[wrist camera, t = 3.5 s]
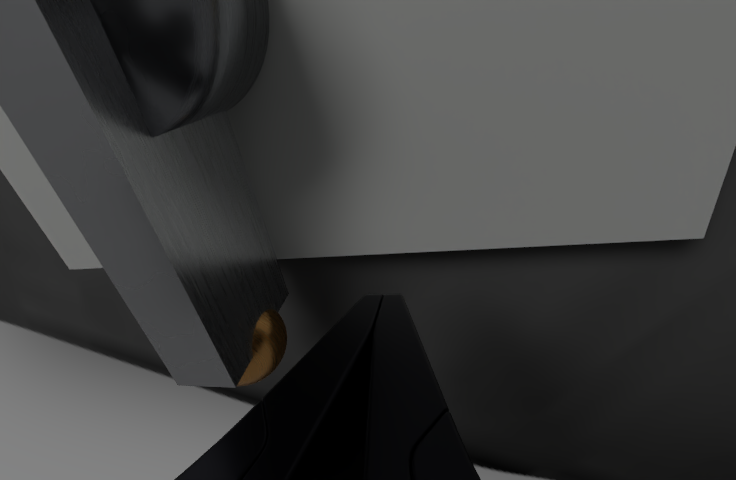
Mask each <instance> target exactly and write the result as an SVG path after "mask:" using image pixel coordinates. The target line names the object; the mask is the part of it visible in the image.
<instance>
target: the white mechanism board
mask: <svg viewBox="0 0 736 480" xmlns="http://www.w3.org/2000/svg"><path fill="white" fill-rule="evenodd" d="M268 6H269V37H268V45H267V51H266V55H265V59H264V63H263V66H262V68H261V71H260V73H259V76H258V78H257V79H256V81H255V83H254V85H253V87H252V88H251V89H250V91H249V92H248V93H247V95H246V96H245V97H244V98H243V99H242V100H241V101H240V102H239V103H238V104H237V105H235V106H234V107H232V108H231V109H229V110H228V111H227V114H228V117H229V119H230V122H231V125H232V128H233V131H234V134H235V137H236V140H237V143H238V146H239V149H240V152H241V155H242V158H243V161H244V163H245V166H246V169H247V172H248V175H249V178H250V181H251V184H252V187H253V190H254V193H255V196H256V199H257V202H258V204H259V207H260V210H261V213H262V216H263V219H264V222H265V225H266V228H267V231H268V234H269V237H270V240H271V243H272V246H273V248H274V251H275V254H276V257H277V259H292V258H312V257H333V256H353V255H374V254H394V253H415V252H435V251H455V250H476V249H496V248H517V247H537V246H557V245H578V244H598V243H619V242H639V241H660V240H680V239H700V238H704V236H705V233H706V230H707V227H708V224H709V221H710V218H711V215H712V213H713V210H714V207H715V204H716V201H717V198H718V195H719V192H720V189H721V186H722V184H723V181H724V178H725V175H726V172H727V169H728V166H729V163H730V160H731V158H732V155H733V152H734V149H735V146H736V0H268ZM0 170H1V171H2V172H3V174H4V175H5V177H6V178H7V180H8V181H9V183H10V184H11V185H12V187H13V188H14V190H15V191H16V193H17V194H18V196H19V197H20V198H21V200H22V201H23V203H24V204H25V206H26V207H27V209H28V210H29V211H30V213H31V214H32V216H33V217H34V219H35V220H36V222H37V223H38V224H39V226H40V227H41V229H42V230H43V232H44V233H45V234H46V236H47V237H48V239H49V240H50V242H51V243H52V245H53V246H54V247H55V249H56V250H57V252H58V253H59V255H60V256H61V258H62V259H63V260H64V262H65V263H66V265H67V266H68V268H69V269H88V268H103V267H102V265H101V263H100V262H99V260H98V259H97V257H96V255H95V254H94V252H93V251H92V249H91V248H90V246H89V244H88V243H87V241H86V240H85V238H84V237H83V235H82V233H81V232H80V230H79V229H78V227H77V226H76V224H75V222H74V221H73V219H72V218H71V216H70V215H69V213H68V211H67V210H66V208H65V207H64V205H63V204H62V202H61V200H60V199H59V197H58V196H57V194H56V193H55V191H54V189H53V188H52V186H51V185H50V183H49V181H48V180H47V178H46V177H45V175H44V174H43V172H42V170H41V169H40V167H39V166H38V164H37V163H36V161H35V159H34V158H33V156H32V155H31V153H30V152H29V150H28V148H27V147H26V145H25V144H24V142H23V141H22V139H21V137H20V136H19V134H18V133H17V131H16V130H15V128H14V126H13V125H12V123H11V122H10V120H9V118H8V117H7V115H6V114H5V112H4V111H3V109H2V107H1V106H0Z"/></svg>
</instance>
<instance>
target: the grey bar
mask: <svg viewBox="0 0 736 480" xmlns="http://www.w3.org/2000/svg"><path fill="white" fill-rule="evenodd" d="M268 37H269V6H268V0H0V106H1V107H2V109H3V111H4V112H5V114H6V115H7V117H8V118H9V120H10V122H11V123H12V125H13V126H14V128H15V130H16V131H17V133H18V134H19V136H20V137H21V139H22V141H23V142H24V144H25V145H26V147H27V148H28V150H29V152H30V153H31V155H32V156H33V158H34V159H35V161H36V163H37V164H38V166H39V167H40V169H41V170H42V172H43V174H44V175H45V177H46V178H47V180H48V181H49V183H50V185H51V186H52V188H53V189H54V191H55V193H56V194H57V196H58V197H59V199H60V200H61V202H62V204H63V205H64V207H65V208H66V210H67V211H68V213H69V215H70V216H71V218H72V219H73V221H74V222H75V224H76V226H77V227H78V229H79V230H80V232H81V233H82V235H83V237H84V238H85V240H86V241H87V243H88V244H89V246H90V248H91V249H92V251H93V252H94V254H95V255H96V257H97V259H98V260H99V262H100V263H101V265H102V267H103V268H104V270H105V271H106V273H107V274H108V276H109V278H110V279H111V281H112V282H113V284H114V285H115V287H116V289H117V290H118V292H119V293H120V295H121V296H122V298H123V300H124V301H125V303H126V304H127V306H128V307H129V309H130V311H131V312H132V314H133V315H134V317H135V318H136V320H137V322H138V323H139V325H140V326H141V328H142V330H143V331H144V333H145V334H146V336H147V337H148V339H149V341H150V342H151V344H152V345H153V347H154V348H155V350H156V352H157V353H158V355H159V356H160V358H161V359H162V361H163V363H164V364H165V366H166V367H167V369H168V370H169V372H170V374H171V375H172V377H173V378H174V380H175V381H176V383H177V385H186V386H209V387H233V388H236V386H247V385H251V384H254V383H257V382H259V381H261V380H263V379H264V378H266V377H267V376H268V375H270V374H271V373H272V372H273V371H274V370H275V369H276V367H277V366H278V365H279V363H280V362H281V360H282V358H283V356H284V353H285V350H286V345H287V332H286V327H285V324H284V322H283V319H282V318H281V316H280V315H279V313H278V312H279V310H280V308H281V307H282V305H283V303H284V301H285V299H286V298H287V296H288V294H289V292H288V289H287V287H286V284H285V281H284V278H283V275H282V272H281V269H280V266H279V263H278V260H277V257H276V254H275V251H274V248H273V246H272V243H271V240H270V237H269V234H268V231H267V228H266V225H265V222H264V219H263V216H262V213H261V210H260V207H259V204H258V202H257V199H256V196H255V193H254V190H253V187H252V184H251V181H250V178H249V175H248V172H247V169H246V166H245V163H244V161H243V158H242V155H241V152H240V149H239V146H238V143H237V140H236V137H235V134H234V131H233V128H232V125H231V122H230V119H229V117H228V114H227V111H228V110H229V109H231V108H232V107H234V106H235V105H237V104H238V103H239V102H240V101H241V100H242V99H243V98H244V97H245V96H246V95H247V93H248V92H249V91H250V89H251V88H252V87H253V85H254V83H255V81H256V79H257V78H258V76H259V73H260V71H261V68H262V66H263V63H264V59H265V55H266V51H267V45H268Z"/></svg>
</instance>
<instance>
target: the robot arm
mask: <svg viewBox="0 0 736 480" xmlns="http://www.w3.org/2000/svg"><path fill="white" fill-rule="evenodd" d="M175 480H480V477H479V475H478V474H477V472H476V470H475V468H474V466H473V464H472V462H471V460H470V458H469V455H468V453H467V451H466V449H465V446H464V444H463V442H462V440H461V437H460V435H459V433H458V431H457V428H456V426H455V423H454V421H453V418H452V416H451V414H450V412H449V409H448V406H447V404H446V402H445V399H444V397H443V394H442V392H441V389H440V387H439V384H438V382H437V379H436V377H435V374H434V372H433V369H432V367H431V365H430V362H429V360H428V357H427V355H426V352H425V350H424V347H423V345H422V342H421V340H420V337H419V335H418V332H417V330H416V328H415V325H414V323H413V320H412V318H411V315H410V313H409V310H408V308H407V305H406V303H405V300H404V298H403V296H402V294H385V295H384V296H383V295H382V294H366V295H364V296H363V297H362V298H361V299H360V300H359V301H358V302H357V303H356V304H355V305H354V306H353V307H352V308H351V309H350V310H349V311H348V312H347V313H346V314H345V315H344V316H343V317H342V318H341V319H340V320H339V321H338V322H337V323H336V324H335V325H334V326H333V327H332V328H331V329H330V330H329V331H328V333H327V334H326V335H325V336H324V337H323V338H322V339H321V340H320V341H319V342H318V343H317V344H316V345H315V346H314V347H313V348H312V349H311V350H310V351H309V352H308V353H307V354H306V355H305V356H304V357H303V358H302V359H301V360H300V361H299V362H298V363H297V364H296V365H295V366H294V367H293V368H292V369H291V370H290V371H289V372H288V373H287V374H286V375H285V376H284V377H283V378H282V379H281V380H280V381H279V382H278V383H277V384H276V385H275V386H274V387H273V388H272V389H271V390H270V391H269V392H268V393H267V394H266V395H265V396H264V397H263V401H259V402H258V403H257V404H256V405H255V406H254V407H253V408H252V409H251V410H250V411H249V412H248V413H247V414H246V415H245V416H244V417H243V418H242V419H241V420H240V421H239V422H238V423H237V424H236V425H235V426H234V427H233V428H232V429H231V430H230V431H228V433H227V434H225V435H224V436H223V437H222V438H221V439H220V440H219V441H218V442H217V443H216V444H215V445H213V446H212V447H211V448H210V449H209V450H208V451H207V452H206V453H204V454H203V455H202V456H201V457H200V458H199V459H198V460H197V461H195V462H194V463H193V464H192V465H191V466H190V467H189V468H187V469H186V470H185V471H184V472H183V473H182V474H180V475H179V476H178V477H177V478H176V479H175Z"/></svg>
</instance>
